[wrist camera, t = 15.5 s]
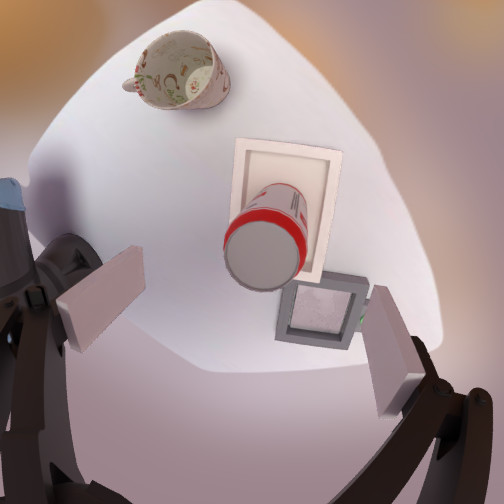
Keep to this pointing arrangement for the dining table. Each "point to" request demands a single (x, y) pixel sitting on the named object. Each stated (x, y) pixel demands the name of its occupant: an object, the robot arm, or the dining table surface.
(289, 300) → the frame
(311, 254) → the cream rectangular tray
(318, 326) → the plate
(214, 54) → the mug
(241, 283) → the beer can
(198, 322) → the dining table surface
